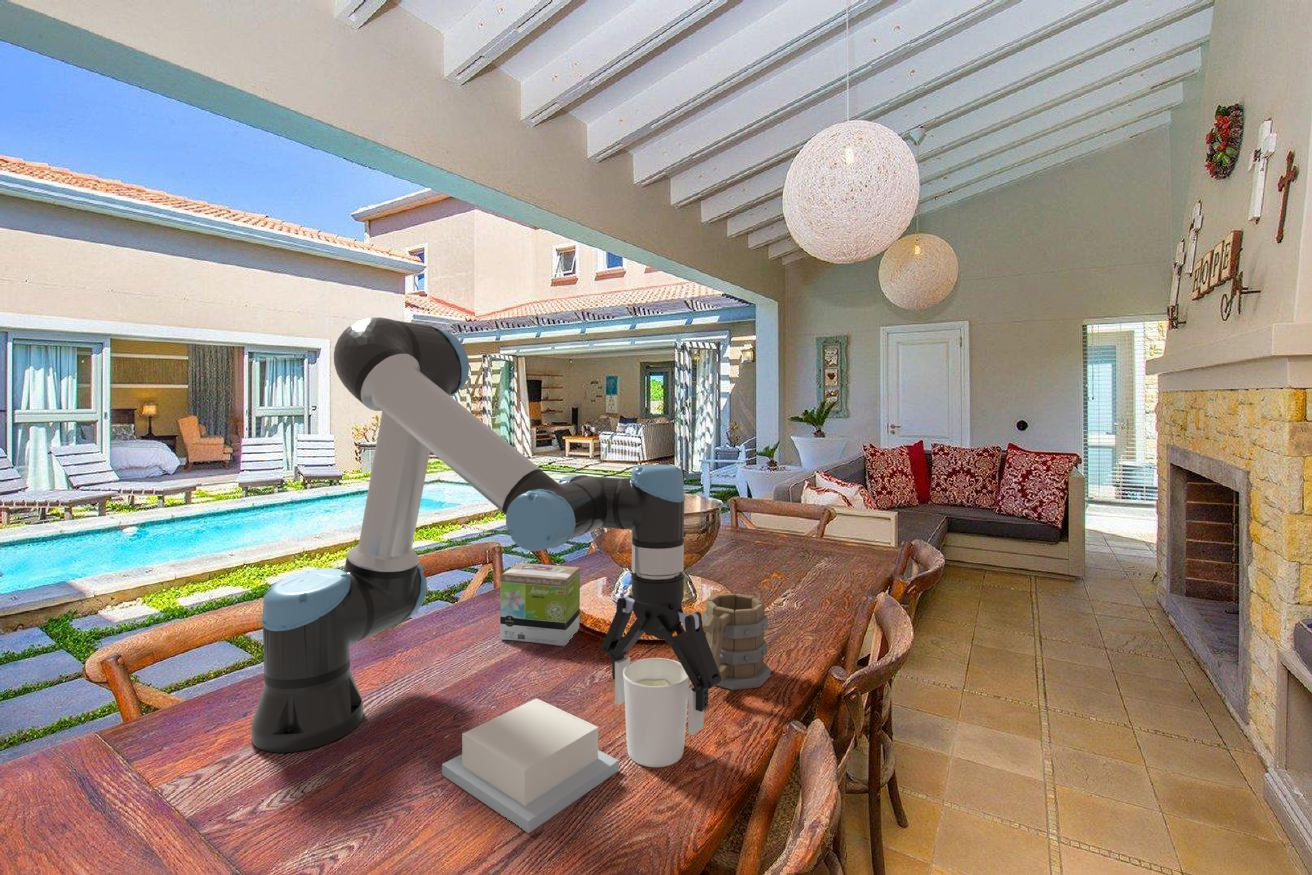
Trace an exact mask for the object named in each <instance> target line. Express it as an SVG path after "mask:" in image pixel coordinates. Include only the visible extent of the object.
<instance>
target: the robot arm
mask: <svg viewBox="0 0 1312 875" xmlns="http://www.w3.org/2000/svg"><path fill="white" fill-rule="evenodd" d="M333 366H334V369H335V372H336V375H337V377H338V379H339V380H340V382H341V383H342V385H343V386H344V387H345V388H346V390H347V391H348V392H349V393H350V394H351V395H352V396H353V397H354V398H355V399H357V400H358V401H359V402H360V403H362V404H363V405H364V407H366V408H367V409H369V410H371V411H375V412H381V416H380V422H379V427H378V432H377V433H378V434H377V439H376V444H375V450H374V456H373V460H372V461H373V462H372V468H371V472H370V477H369V478H370V479H369V484H368V490H367V496H366V501H365V507H364V512H363V519H362V523H361V530H360V536H359V541H358V544H357V545H355V546H353V547H352V548H350V549H349V550H348V551H347V553H346V558H345V565H344V570H343V569H339V568H333V567H332V568H331V567H327V568H325V567H324V568H316V569H313V570H310V571H306V570H305V571H302V572H298V573H295V574H291V575H289V576H287V577H285V578H282V579H280V580H278V581H277V582H275V583H273V584H272V585H271V586H270V587H269V588H267V591H266V592H265V594H264V596H263V603H262V613H261V618H260V621H261V626H262V634H263V635H262V636H263V637H262V638H263V639H262V640H263V641H262V642H263V644H262V645H263V646H262V647H263V681H264V683H263V684H264V685H263V688H262V692H261V694H260V698H259V701H258V704H257V706H256V709H255V712H254V715H253V718H252V722H251V727H250V728H251V730H250V731H251V733H250V734H251V743H252V744H253V746H255V748H257V749H259V750H261V751H265V752H269V753H293V752H301V751H302V752H303V751H306V750H310V749H314V748H318V747H321V746H324V745H327V744H330V743H332V742H334V741H337V740H339V739H341V738H343V737H345V736H346V735H348V734H350V733H351V732H352V731H353V730H355V729H356V728H357V727H358V726H359V725H361V724H360V723H361V722H362V721H363V718H364V701H363V698H362V696H361V692H360V690H359V688H358V685H357V683H356V680H355V678H354V676H353V673H352V671H351V645H354V644H357V643H358V642H361V641H363V640H365V639H368V638H370V637H372V636H374V635H377V634H378V633H381V632H382V631H383V632H384V631H386V630H388V629H390V628H391V629H392V628H394V627H397V626H398V625H400V624H402V623H403V622H405V621H406V620H408V619H410V618H411V617H412V616H414V615H415V614H416V613H417V612H418V611H419V610H420V608H421V607H422V605H423V604H424V601H425V599H426V596H427V590H428V583H427V582H428V580H427V576H425V575H424V574H423V573H424V572H425V571H424V569H423V567H422V565H421V564H420V557H419V556H418V554H417V553H416V552H415V550H413V545H414V540H415V535H416V534H415V533H416V528H417V524H418V518H419V512H420V508H421V502H422V497H423V496H422V495H423V490H424V486H425V480H426V475H427V470H428V464H429V460H430V454H431V453H432V454H433V455H434V456H436V457H437V458H438V460H440V461H441V462H443V463H444V464H445V465H447V467H448V468H450V469H451V470H452V471H453V472H454V473H456V474H457V475H458V476H459V477H460V478H462V480H464V481H466V482H467V484H468V485H469V486H471V487H472V488H473V489H474V490H476V491H477V492H478V493H479V494H481V495H482V496H483V497H484V498H485V499H486V500H488V501H489V502H490V503H491V504H492V505H493V506H495V508H497V509H498V510H499V511H501V512H502V514H504V515H505V526H506V530H507V531H508V533H509V536H510V538H511V539H512V541H513V543H514V544H516V545H517V546H518V547H520V548H522V549H524V550H526V551H530V552H539V551H545V550H549V549H553V548H558V547H560V546H562V545H564V544H566V543H567V542H568V541H569V540H572V539H574V538H576V537H579V536H583V535H585V534H588V533H590V532H592V531H594V530H596V529H614V530H615V529H617V530H623V531H624V530H631V569H632V571H633V572H634V573H633V574H632V575H631V594H628V595H624V596H622V597H618V598H617V601H616V610H615V611H616V612H615V614H614V616H613V619H612V620H611V624H610V625H609V628H608V630H607V633H606V635H605V637H604V640H603V642H602V645H601V646H600V647H601V648H600V649H601V652H602V653H603V654H608V655H609V658H610V660H611V676H612V680H614V704H615V705H617V706H621V705H622V704H623V703H624V704H625V698H624V679H623V670H624V668H625V667H626V666H627V665H628V664H630V663H631V657H629V656H628V654H629V651H630V650H631V649H632V648H633V646H635V644H636V643H637V642H638V641H639V639H640V638H641V637H642V636H643V634H644V635H645V636H648V637H654V638H656V639H658V640H661V641H662V640H664V641H665V644H666V645H667V646H669V647H671V649H672V651H673V652H674V654H675V655H676V658H677V659H678V662H680V663H681V665H682V667H683V668H684V670H685V672H686V674H687V675H688V677H689V682H690V683H691V684H692V685H691V686H689V688H688V704H687V717H688V721H687V723H688V724H687V730H688V731H687V733H688V734H687V735H690V736H694V735H696V734H698V733H699V731H701V730H702V729H703V728H704V727H705V726H704V725H705V723H704V722H705V718H704V716H705V710H706V709H708V707H709V690H710V689H712V688H713V687H715V686H716V684H718V683H719V682H721V676H720V673H719V671H718V668H717V665H716V663H715V660H714V657H713V655H712V652H711V649H710V647H709V644H708V641H707V639H706V632H705V630H704V627H703V624H702V621H703V615H702V613H701V611H695V612H692V613H690V612H689V613H688V612H684V610H683V606H682V604H683V600H684V597H685V595H684V594H685V586H684V585H685V583H684V582H685V579H684V578H685V576H684V574H683V573H682V572H683V570H684V569H685V567H684V566H685V565H684V564H685V562H684V559H685V558H684V557H685V556H684V555H685V551H684V549H685V548H684V547H685V543H684V542H685V541H684V540H685V538H684V536H685V535H684V529H685V528H684V527H685V501H686V495H685V488H684V474H683V471H682V469H681V468H680V467H679V466H676V465H671V464H640V465H635V466H634V467H633V468H632V470H631V476H630V477H628V478H627V477H624V478H623V477H621V478H619V477H605V476H604V477H603V476H589V475H586V474H580V475H567V476H564V477H561V478H560V479H559V481H558V482H557V481H556V480H555V479H554V478H552V476H550V475H548V474H547V473H546V472H544V471H543V470H542V469H541V468H540V467H539V466H537V465H536V464H535V463H533V462H532V461H531V460H530V459H528V458H527V457H526V456H525V455H524V454H522V453H521V452H520V451H519V450H518V449H516V448H515V447H514V446H513V445H511V444H510V443H509V442H507V440H506V439H504V438H503V437H502V436H500V435H499V434H497V432H495V431H494V430H493V429H491V427H489V426H488V425H487V424H485V423H484V422H483V421H482V420H480V419H479V418H478V417H477V416H476V415H474V414H473V413H472V412H471V411H469V410H468V409H467V408H466V407H465V406H464V405H462V404H461V403H459V402H458V400H456V399H454V397H452V396H453V395H455V394H457V393H458V392H459V391H460V390H462V389H463V388H464V386H465V385H466V383H467V381H468V378H469V372H470V362H469V357H468V354H467V351H466V349H465V347H464V346H463V344H462V342H461V341H460V339H459V338H457V336H456V335H454V334H453V333H451V332H450V331H447V330H446V329H442V328H439V327H436V326H433V325H427V324H422V323H414V322H408V321H403V320H402V321H400V320H397V319H396V320H395V319H390V318H386V317H367V318H364V319H360V320H357V321H355V322H354V323H352V324H350V325H349V326H348V327H347V328H345V329H344V330H343V331H342V333H341V334H340V336H339V337H338V338H337V340H336V343H335V346H334V350H333ZM632 613H634V616H635V617H636V619H635V621H634V622H633V623H632V625H631V626H630V627H629V630H628V631H627V632H626V633H625V635H624V632H625V630H626V627H627V625H628V623H629V621H630V618H631V615H632ZM675 633H676V635H674V634H675ZM623 635H624V636H623ZM673 635H674V636H673ZM622 636H623V637H622Z"/></svg>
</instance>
